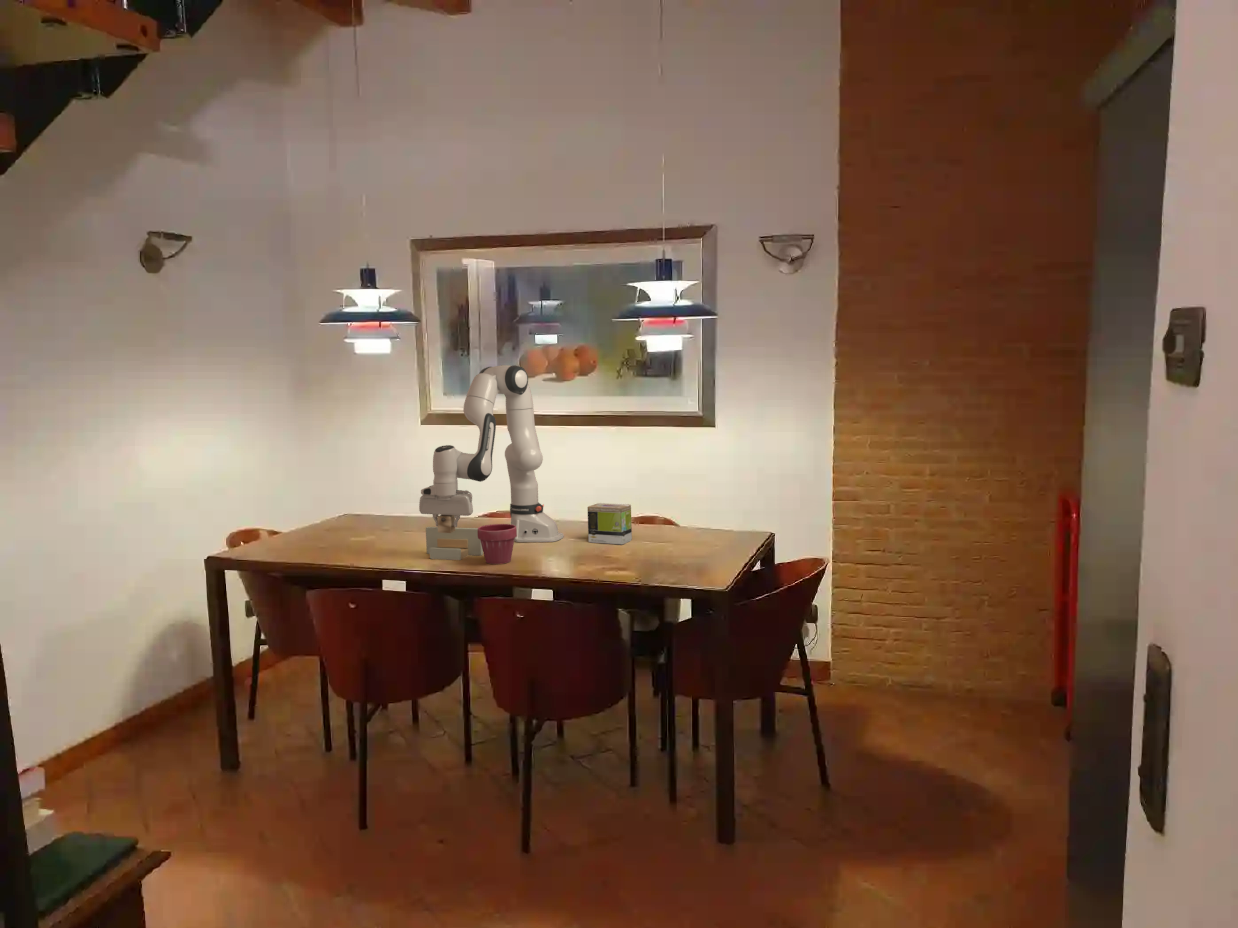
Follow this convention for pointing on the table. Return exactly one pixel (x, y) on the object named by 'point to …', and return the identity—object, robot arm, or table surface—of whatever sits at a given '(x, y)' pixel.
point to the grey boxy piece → (453, 543)
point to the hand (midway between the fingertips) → (446, 526)
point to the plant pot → (497, 542)
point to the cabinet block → (445, 523)
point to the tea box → (609, 523)
